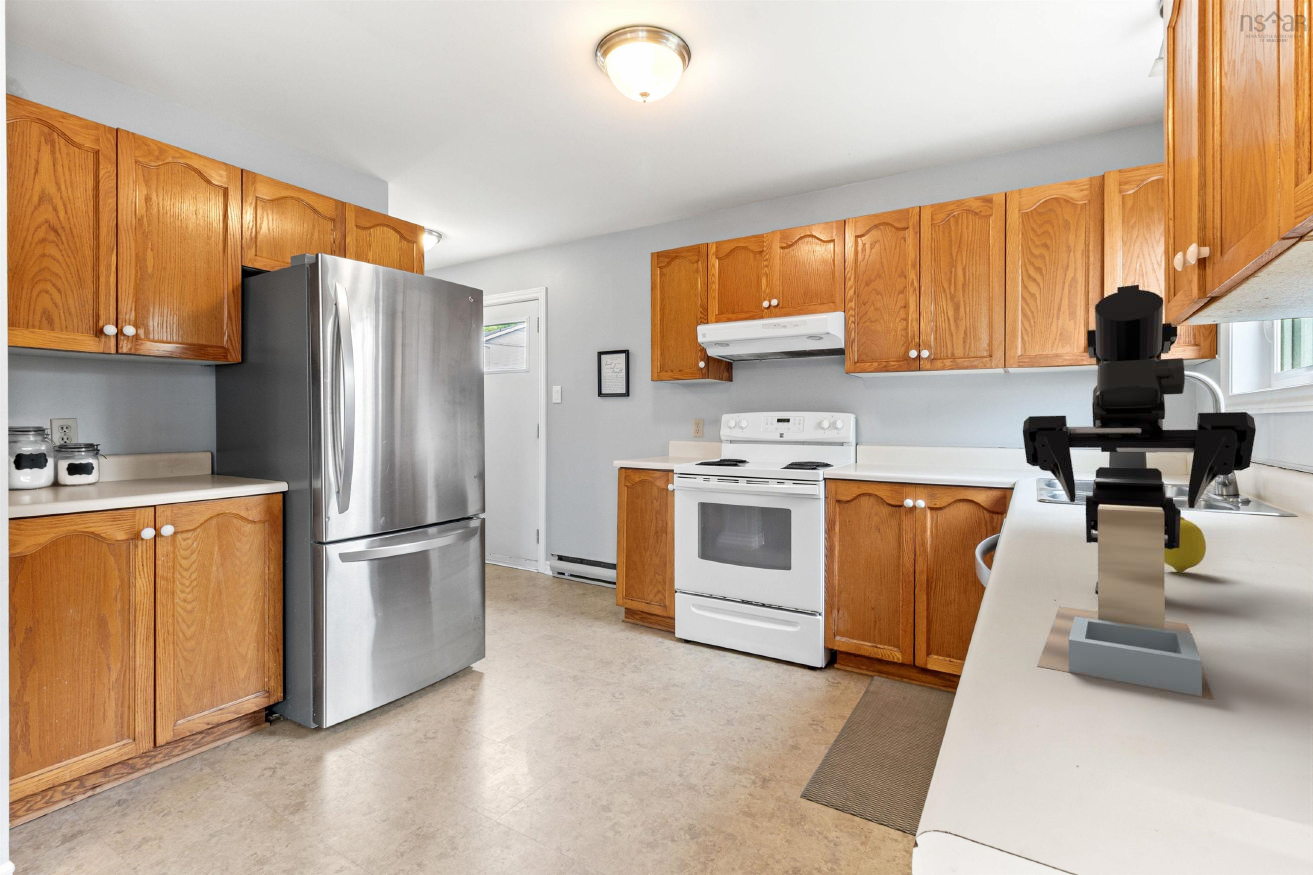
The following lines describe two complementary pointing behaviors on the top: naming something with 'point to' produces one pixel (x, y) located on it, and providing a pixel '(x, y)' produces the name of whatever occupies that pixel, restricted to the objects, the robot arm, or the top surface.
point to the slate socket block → (1136, 655)
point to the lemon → (1186, 547)
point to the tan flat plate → (1058, 644)
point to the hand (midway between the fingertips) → (1129, 502)
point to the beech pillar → (1131, 565)
